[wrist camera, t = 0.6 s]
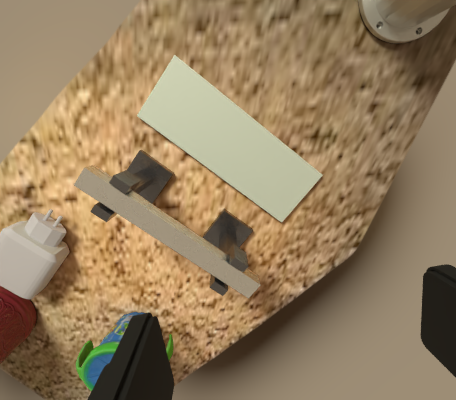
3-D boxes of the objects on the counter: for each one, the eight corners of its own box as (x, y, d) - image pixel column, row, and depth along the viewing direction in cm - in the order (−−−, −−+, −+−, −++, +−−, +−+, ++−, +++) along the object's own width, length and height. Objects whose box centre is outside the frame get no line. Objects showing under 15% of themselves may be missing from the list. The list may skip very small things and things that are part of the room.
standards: (141, 149, 38) (98, 160, 25) (252, 228, 42) (264, 272, 29) (122, 180, 40) (71, 204, 27) (231, 254, 43) (233, 307, 30)
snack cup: (100, 348, 49) (69, 402, 39) (93, 303, 46) (57, 349, 36) (179, 348, 49) (168, 402, 39) (177, 303, 46) (164, 350, 36)
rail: (94, 164, 28) (84, 167, 26) (258, 275, 32) (260, 285, 30) (84, 181, 28) (73, 185, 26) (247, 288, 33) (248, 298, 31)
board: (175, 56, 35) (174, 54, 34) (320, 174, 40) (322, 175, 39) (138, 116, 37) (136, 115, 36) (280, 220, 42) (281, 222, 41)
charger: (90, 224, 42) (48, 284, 45) (40, 191, 40) (0, 256, 43) (74, 235, 37) (28, 301, 40) (17, 199, 36) (-26, 271, 39)
